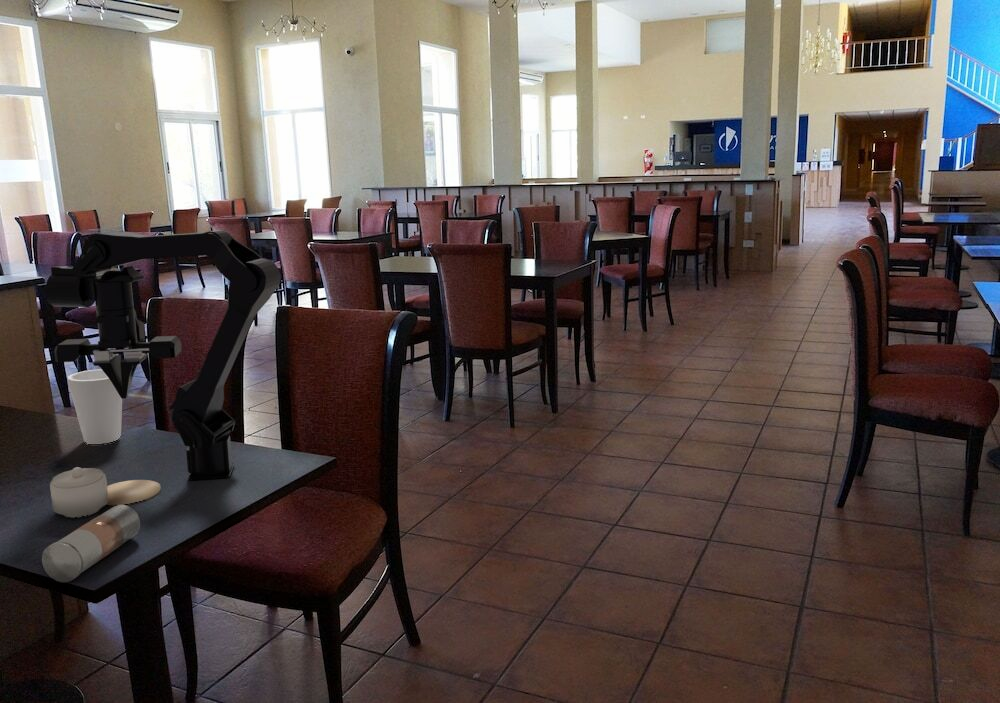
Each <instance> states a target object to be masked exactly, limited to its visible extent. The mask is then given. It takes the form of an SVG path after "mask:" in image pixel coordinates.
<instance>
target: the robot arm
mask: <svg viewBox="0 0 1000 703" xmlns="http://www.w3.org/2000/svg"><path fill="white" fill-rule="evenodd" d="M201 256H204V257H205V256H206V257H208V258H209V259H210V260H211V261H212V263H213V264H214V266H215V267H216V269H217V270H218V271H219V273H220V275H222V276H224V278H225V279H227V280H228V281H229V284H228V289H227V309H226V312H225V314H224V316H223V319H222V321H221V323H220V325H219V327H218V329H217V331H216V334H215V336H214V339H213V341H212V344H211V345H210V348H209V350H208V352H207V355H206V357H205V358H204V361H203V363H202V366H201V368H200V370H199V372H198V375H197V377H196V378H195V379H193V380H191V381H189V382H187V383H185V384H183V385H182V386H179V387H178V389H177V391H176V395H175V398H174V401H173V403H172V404H171V405H169V407H168V408H169V410H172V411H171V413H170V421H171V422H172V424H173V427H174V428H175V429H176V430H177V431H178V433H179V437H180V439H181V441H182V442H183V445H184V446H185V447H187V449H186V450H185V456H186V465H187V472H188V473H189V476H188V478H189V480H190V481H192V480H193V481H194V480H206V479H207V480H208V479H211V480H212V479H224V478H225V479H226V478H230V476H231V473H232V472H233V469H234V466H235V462H234V461H233V460H232V459H233V457H232V445H231V434H230V433H232V432H233V431H234V428H235V425H236V420H235V419H234V418H233V417H232V416H231V415H230V414H229V413H228V412H227V411H226V410H225V409H223V404H224V400H225V393H224V392H225V391H224V389H225V388H224V387H225V383H226V381H227V379H228V377H229V375H230V372H231V370H232V368H233V366H234V364H235V361H236V360H237V359H236V358H237V357H238V354H239V352H240V350H241V347H243V343H244V340H245V339H246V337H247V335H248V333H249V330H250V328H251V325H252V323H253V322H254V319H255V317H256V315H257V314H258V313H259V312H260V310H261V309H262V308H263V307H264V306H265V304H266V303H268V301H269V300H270V299H271V297H272V295H273V294H274V293H275V291H276V290H277V289H278V287H279V286H280V283H281V279H282V274H281V272H280V269H279V267H278V265H276V263H275V262H273V261H271V260H270V259H267V258H263V257H262V256H261V255H259V253H257V251H255V250H253V249H251V248H250V247H248V246H247V245H245V244H243V243H241V242H240V241H238V240H237V239H236V238H234V237H233V236H232V235H231V234H230V233H229V232H227V231H225V230H224V229H223V230H222V229H216V230H210V231H209V230H208V231H202V232H188V233H174V234H173V233H170V234H159V235H158V234H157V235H148V234H147V235H146V234H141V233H137V232H130V231H129V232H128V231H121V230H113V231H105V232H104V231H103V232H97V233H96V232H95V233H92V234H89V235H88V236H87V237H86V239H85V240H84V241H83V247H82V252H81V253H80V255H79V256H78V258H77V260H76V262H75V264H74V265H73V266H66V265H56V266H52V267H51V268H50V271H51V273H50V275H49V276H48V278H47V281H46V283H45V287H44V294H45V298H46V301H47V302H48V304H50V305H51V306H53V307H57V308H58V307H59V308H62V307H63V308H90V307H92V306H93V305H94V304H95V311H96V316H95V317H94V320H95V324H97V328H98V337H99V339H98V341H97V343H91V342H90V340H89V338H74V339H70V338H69V339H65V340H64V341H62V342H61V343H58V344H57V345H56V346H55V347H54V350H53V351H54V352H53V353H54V361H55V363H72V362H73V363H74V362H76V361H77V360H78V359H79V358H80V357H81V356H93V357H94V361H93V362H92V364H93V367H94V366H95V367H99V368H100V369H102V370H103V372H104V373H105V374H106V375H107V377H108V378H109V379H110V381H111V382H112V384H113V386H114V387H115V389H116V390H117V392H118V394H119V395H120V397H121V398H122V400H123V399H128V397H129V394H130V390H131V387H132V386H131V385H132V383H133V378H134V376H135V372H136V369H137V367H138V365H140V364H141V363H142V362H143V361H144V360H146V359H147V356H148V355H150V356H151V357H152V358H153V359H155V360H156V359H159V360H160V359H174V358H176V357H177V356H178V355H180V353H181V352H182V342H181V339H180V338H179V337H178V335H168V336H167V335H161V336H155V337H153V338H152V339H151V340H150V341H145V338H146V337H145V336H146V335H145V333H146V331H145V325H146V324H145V322H143V321H141V320H140V319H138V316H137V315H138V314H137V311H136V310H135V307H134V306H135V304H134V295H133V287H132V285H133V284H132V283H133V282H137V281H141V280H144V279H145V276H144V275H143V274H142V273H141V272H139V271H137V269H135V268H134V266H133V265H128V264H133V263H136V262H140V261H143V260H144V261H145V260H149V259H150V260H151V259H152V260H154V259H167V258H168V259H169V258H183V257H201ZM124 265H128V266H125V267H123V268H122V270H112V269H113V268H115V267H119V266H124ZM102 272H103V274H102V275H97V273H102ZM122 355H123V356H124V359H123V360H122Z"/></svg>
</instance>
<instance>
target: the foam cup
mask: <svg viewBox="0 0 1000 703" xmlns="http://www.w3.org/2000/svg"><path fill="white" fill-rule="evenodd" d="M67 386H68V391H69V392H70V395H71V399H72V403H73V405H74V410H75V412H76V416H77V420H78V424H79V427H80V428H79V429H80V431H81V434H82V439H83V441H84V443H85V442H86V443H87V444H86V443H85V444H86V445H88V444H102V443H109V442H113V441H116V440H118V439H119V438H120V436H121V435H122V414H123V412H122V411H123V399H122V398H121V397H120V395H119V394H118V392H117V390H116V389H115V387H114V386H113V384H112V382H111V381H110V379H109V378H108V377H107V375H106V374H105V373H104V372H103V370H102V369H101V368H100V369H99V368H97V369H89V370H83V371H79V372H75V373H72V374H69V375H68V376H67ZM121 437H122V436H121ZM120 439H121V438H120ZM120 439H119V440H120ZM119 440H118V441H119ZM116 442H117V441H116ZM113 443H114V442H113ZM109 444H110V443H109Z"/></svg>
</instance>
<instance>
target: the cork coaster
mask: <svg viewBox="0 0 1000 703" xmlns="http://www.w3.org/2000/svg"><path fill="white" fill-rule="evenodd" d="M107 489H108V498H109V501H108V503H107V504H106V505H109V507H110V506H112V507H114V506H115V505H124V504H128V505H131V504H130V503H134V502H138V503H140V502H139V501H141V502H144V501H143V500H145V501H147V500H150V499H151V498H154V497H155V496H157V495H158V494H159V493H160V492H161V490H162V488H161V484H160V483H159V482H157V481H154V480H148V479H132V480H131V479H130V480H125V481H119V482H115V483H112V484H109V485H108V484H107ZM134 504H135V503H134ZM106 505H105V506H106Z"/></svg>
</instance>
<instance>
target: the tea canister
mask: <svg viewBox="0 0 1000 703" xmlns="http://www.w3.org/2000/svg"><path fill="white" fill-rule="evenodd" d="M140 528H141V520H140V516H139V514H138V513H137V512H136V511H135V510H134V509H133V508H132V507H130V506H128V505H117V506H112V507H111V508H110V509H108V510H106V511H105V512H103V513H101V514H100V515H98V516H95V517H94V518H93V519H91V520H89V521H88V522H86V523H85V524H83V525H81V526H80V527H78V528H77V529H74V530H73V531H72V532H71V533H69V534H68V535H66V536H64V537H63V538H61V539H59V540H57V541H55V542H53V543H52V544H50V545H48V546H46V547H45V548H44V550H43V551H42V555H41V563H42V567H43V569H44V571H45V573H46V574H47V575H48V576H49V577H50V579H53V580H54V581H57V582H59V583H69V582H71V581H73V580H75V579H76V578H78V577H79V576H80V575H81V573H83V572H85V571H86V570H88V569H89V568H91V567H92V566H93V565H95V564H97V563H98V562H100V561H101V560H102V559H104V558H105V557H107V556H108V555H110V554H111V553H112V552H115V550H117V549H118V548H119V547H121V546H122V545H124V544H125V543H126V542H128V541H129V540H130V539H132V538H133V537H135V536H136V535H137V534H138V533H139V531H140Z"/></svg>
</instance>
